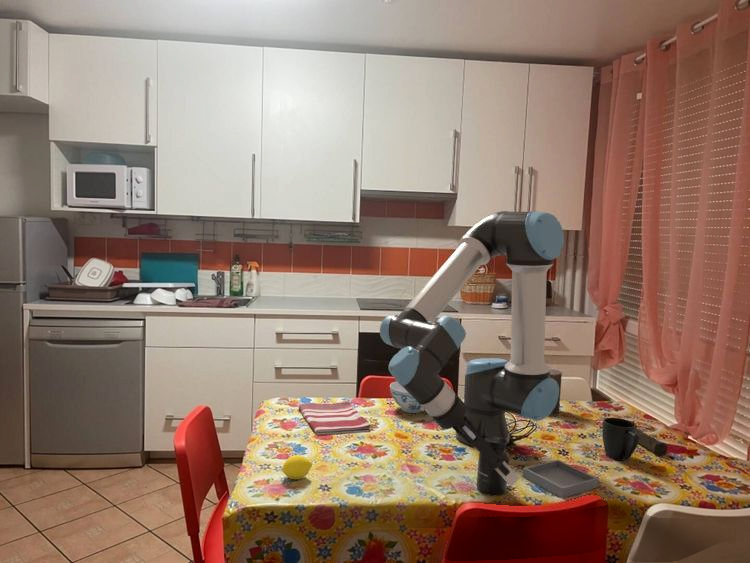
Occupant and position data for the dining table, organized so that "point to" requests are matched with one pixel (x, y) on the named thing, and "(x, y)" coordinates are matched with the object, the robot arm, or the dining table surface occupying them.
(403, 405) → the chinaware
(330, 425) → the dish towel
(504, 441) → the supplement bottle
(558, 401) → the pillar candle
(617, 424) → the mug
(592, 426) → the dining table surface
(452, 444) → the dining table surface
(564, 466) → the tray
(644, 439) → the hand tool
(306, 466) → the lemon
